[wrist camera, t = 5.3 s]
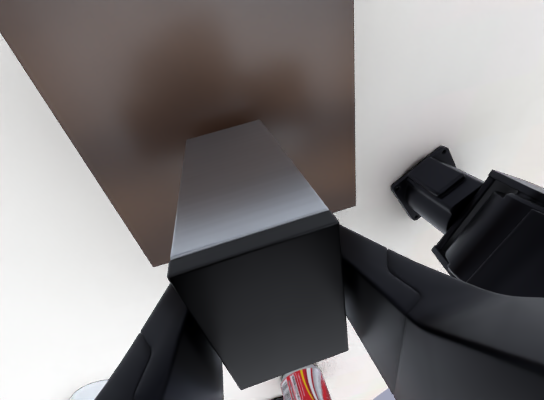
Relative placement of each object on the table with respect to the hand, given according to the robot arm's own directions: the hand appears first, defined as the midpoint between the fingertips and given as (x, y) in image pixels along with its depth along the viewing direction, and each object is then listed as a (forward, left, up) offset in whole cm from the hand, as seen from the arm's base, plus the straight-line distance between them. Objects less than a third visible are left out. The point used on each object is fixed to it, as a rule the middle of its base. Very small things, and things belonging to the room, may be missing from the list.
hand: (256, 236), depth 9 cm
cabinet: (+2, -1, -13) cm, 13 cm away
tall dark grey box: (0, 0, -5) cm, 5 cm away
